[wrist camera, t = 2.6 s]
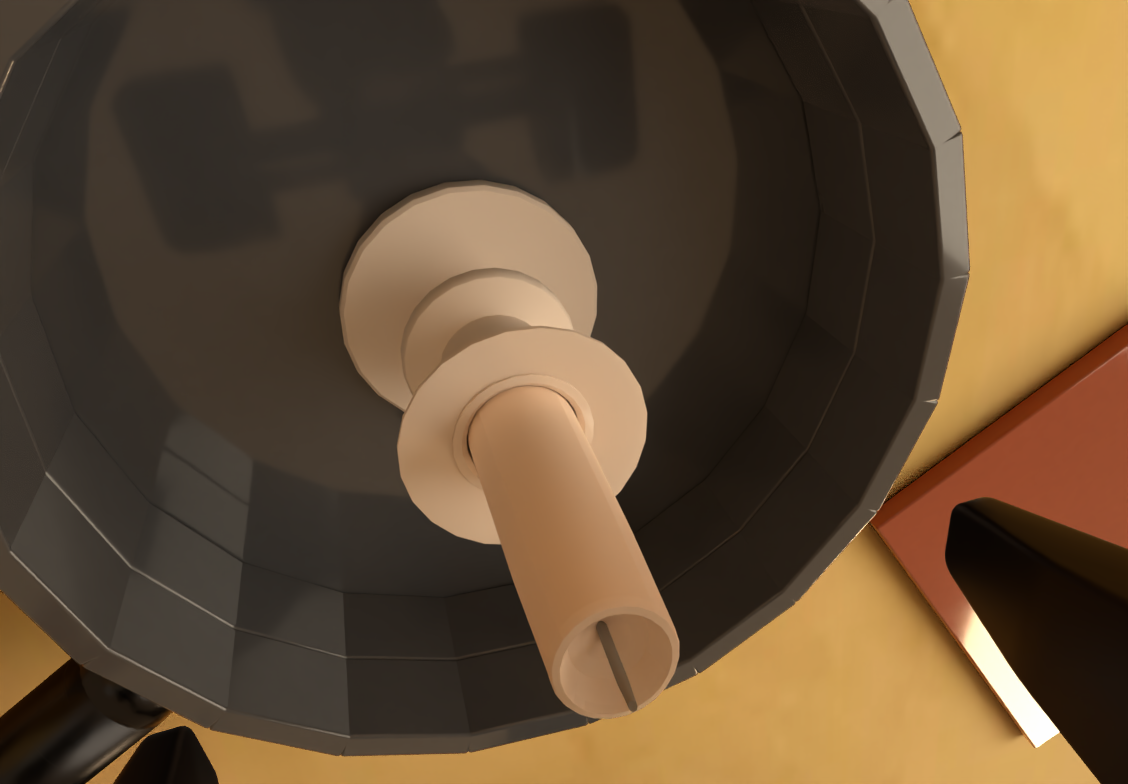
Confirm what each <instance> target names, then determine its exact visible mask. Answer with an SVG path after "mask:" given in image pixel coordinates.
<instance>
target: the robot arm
mask: <svg viewBox="0 0 1128 784" xmlns="http://www.w3.org/2000/svg"><path fill="white" fill-rule="evenodd" d="M945 562H946V565H947V568H948V570H949V572H950V574H951V576H952V578H953V579H954V581H955V582H956V584H957V585H958V587H959V589H960V590H961V592H962V593H963V595H964V596H965V598H966V599H967V601H968V602H969V604H970V606H971V607H972V609H973V610H974V612H975V613H976V615H977V616H978V618H979V620H980V621H981V623H982V624H983V626H984V627H985V629H986V630H987V632H988V633H989V635H990V637H991V638H992V640H993V641H994V643H995V644H996V646H997V647H998V649H999V651H1000V652H1001V654H1002V655H1003V657H1004V658H1005V660H1006V661H1007V663H1008V664H1009V666H1010V667H1011V669H1012V670H1013V672H1014V673H1015V675H1016V676H1017V677H1018V679H1019V680H1020V682H1021V683H1022V684H1023V686H1024V687H1025V688H1026V690H1027V691H1028V692H1029V694H1030V695H1031V696H1032V697H1033V699H1034V700H1035V701H1036V703H1037V704H1038V705H1039V706H1040V708H1041V709H1042V710H1043V711H1044V713H1045V714H1046V715H1047V716H1048V718H1049V719H1050V720H1051V721H1052V723H1053V724H1054V725H1055V727H1056V728H1057V729H1058V730H1059V732H1060V733H1061V734H1062V735H1063V737H1064V738H1065V739H1066V740H1067V742H1068V743H1069V744H1070V745H1071V747H1072V748H1073V749H1074V750H1075V752H1076V753H1077V754H1078V756H1079V757H1080V758H1081V759H1082V761H1083V762H1084V763H1085V764H1086V766H1087V767H1088V768H1089V769H1090V771H1091V772H1092V773H1093V774H1094V776H1095V777H1096V778H1097V779H1098V781H1099V782H1100V783H1101V784H1128V549H1127V548H1124V547H1122V546H1119V545H1116V544H1114V543H1111V542H1108V541H1106V540H1103V539H1100V538H1098V537H1095V536H1092V535H1090V534H1087V533H1085V532H1082V531H1079V530H1077V529H1074V528H1071V527H1069V526H1066V525H1063V524H1061V523H1058V522H1055V521H1053V520H1050V519H1047V518H1045V517H1042V516H1040V515H1037V514H1034V513H1032V512H1029V511H1026V510H1024V509H1021V508H1018V507H1016V506H1013V505H1010V504H1008V503H1005V502H1003V501H1000V500H997V499H994V498H991V497H980V498H976V499H973V500H969V501H966V502H963V503H959V504H957V505H956V506H955V507H954V509H953V510H952V512H951V517H950V523H949V529H948V535H947V541H946V548H945ZM113 784H219V783H218V778H217V775H216V772H215V770H214V768H213V766H212V765H211V763H210V761H209V759H208V757H207V756H206V754H205V752H204V750H203V748H202V747H201V745H200V743H199V741H198V739H197V737H196V736H195V734H194V732H193V731H192V730H191V729H190V728H189V727H186V726H180V727H176V728H173V729H169V730H166V731H162V732H159V733H155V734H152V735H150V736H148V737H147V738H145V739H144V740H143V741H142V742H141V744H140V745H139V746H138V748H137V749H136V751H135V752H134V754H133V755H132V757H131V758H130V760H129V761H128V763H127V764H126V765H125V767H124V768H123V770H122V771H121V773H120V774H119V776H118V777H117V779H116V780H115V782H114V783H113Z"/></svg>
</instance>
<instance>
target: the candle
mask: <svg viewBox="0 0 1128 784" xmlns="http://www.w3.org/2000/svg"><path fill="white" fill-rule="evenodd" d="M339 311H340V318H341V325H342V332H343V338H344V344H345V346H346V348H347V350H348V353H349V355H350V357H351V359H352V361H353V363H354V365H355V367H356V370H357V372H358V373H359V374H360V375H361V376H362V377H363V379H364V380H365V381H366V382H367V383H368V384H369V385H370V386H371V388H372V389H373V390H374V391H375V392H376V393H377V394H378V395H379V396H380V397H382V398H383V399H385V400H386V401H388V402H390V403H391V404H393V405H394V406H396V407H397V408H399V409H400V410H402V411H403V412H404V414H403V416H402V421H401V426H400V432H399V437H398V442H397V452H398V460H399V468H400V475H401V478H402V480H403V483H404V485H405V487H406V489H407V491H408V493H409V495H410V497H411V499H412V501H413V503H414V504H415V505H416V506H417V507H418V508H419V509H420V510H421V511H422V512H423V513H424V514H425V515H426V516H427V517H428V518H429V519H430V521H431V522H433V523H435V524H436V525H438V526H440V527H442V528H443V529H445V530H447V531H448V532H450V533H452V534H454V535H455V536H458V537H462V538H465V539H469V540H473V541H476V542H480V543H484V544H501V545H502V548H503V552H504V555H505V558H506V561H507V564H508V567H509V570H510V573H511V576H512V579H513V582H514V584H515V587H516V590H517V592H518V595H519V598H520V601H521V603H522V606H523V609H524V611H525V614H526V617H527V619H528V622H529V625H530V627H531V630H532V633H533V635H534V638H535V641H536V643H537V646H538V649H539V651H540V654H541V657H542V659H543V662H544V665H545V667H546V670H547V673H548V676H549V680H550V682H551V685H552V687H553V690H554V692H555V695H556V696H557V697H558V698H559V699H560V700H561V701H562V703H563V704H564V705H565V706H567V707H568V708H570V709H571V710H573V711H575V712H576V713H578V714H580V715H584V716H587V717H591V718H599V719H611V718H616V717H621V716H626V715H628V714H631V713H633V712H635V711H637V710H640V709H642V708H643V707H645V706H646V705H647V704H649V703H650V702H652V701H653V700H654V699H656V698H657V697H658V695H659V694H660V693H661V692H662V691H663V690H664V689H665V688H666V687H667V685H668V683H669V682H670V680H671V678H672V677H673V675H674V673H675V670H676V666H677V663H678V660H679V639H678V636H677V633H676V629H675V627H674V625H673V622H672V620H671V618H670V615H669V613H668V611H667V609H666V606H665V604H664V602H663V600H662V597H661V595H660V593H659V591H658V588H657V586H656V584H655V582H654V579H653V577H652V575H651V573H650V570H649V568H648V566H647V564H646V561H645V559H644V557H643V555H642V552H641V550H640V548H639V546H638V543H637V541H636V539H635V537H634V534H633V532H632V530H631V528H630V526H629V524H628V522H627V520H626V518H625V516H624V514H623V512H622V510H621V507H620V505H619V503H618V501H617V499H616V497H615V496H616V495H617V494H618V493H619V492H620V491H621V490H622V488H623V487H624V485H625V484H626V482H627V481H628V479H629V478H630V476H631V475H632V473H633V471H634V470H635V468H636V467H637V464H638V461H639V458H640V455H641V452H642V450H643V447H644V444H645V441H646V427H647V410H646V406H645V402H644V398H643V394H642V390H641V386H640V385H639V383H638V382H637V380H636V378H635V377H634V375H633V374H632V372H631V370H630V369H629V367H628V366H627V364H626V363H625V361H624V360H623V359H622V358H620V357H619V356H618V355H617V354H616V353H614V352H613V351H612V350H611V349H610V348H608V347H607V346H606V345H605V344H604V343H602V342H600V341H598V340H596V339H593V338H591V337H590V336H591V333H592V329H593V326H594V322H595V319H596V316H597V282H596V279H595V275H594V271H593V267H592V263H591V259H590V256H589V254H588V252H587V251H586V249H585V247H584V246H583V244H582V242H581V241H580V239H579V237H578V236H577V234H576V232H575V231H574V229H573V228H572V227H571V225H570V224H569V223H568V222H567V221H566V220H565V219H564V218H563V217H561V216H560V215H559V214H558V213H557V212H556V211H555V210H554V209H553V208H552V207H551V206H549V205H548V204H547V203H546V202H545V201H543V200H541V199H539V198H537V197H535V196H533V195H531V194H529V193H527V192H525V191H523V190H521V189H519V188H517V187H515V186H511V185H506V184H500V183H495V182H490V181H485V180H470V181H456V182H444V183H442V184H439V185H436V186H433V187H430V188H427V189H424V190H421V191H418V192H416V193H413V194H410V195H409V196H407V197H406V198H404V199H403V200H401V201H400V202H398V203H397V204H395V205H394V206H392V207H391V208H390V209H388V210H387V211H385V212H384V213H382V214H381V215H380V216H379V217H378V218H377V219H376V221H375V222H374V223H373V224H372V225H371V226H370V228H369V229H368V230H367V231H366V232H365V233H364V235H363V236H362V237H361V238H360V239H359V240H358V242H357V244H356V246H355V249H354V251H353V253H352V255H351V257H350V259H349V262H348V264H347V266H346V268H345V270H344V274H343V280H342V287H341V294H340V301H339Z"/></svg>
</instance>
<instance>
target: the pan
mask: <svg viewBox="0 0 1128 784" xmlns="http://www.w3.org/2000/svg"><path fill="white" fill-rule="evenodd" d="M470 180H485V181H490V182H495V183H500V184H506V185H511V186H515V187H517V188H519V189H521V190H523V191H525V192H527V193H529V194H531V195H533V196H535V197H537V198H539V199H541V200H543V201H545V202H546V203H547V204H548V205H549V206H551V207H552V208H553V209H554V210H555V211H556V212H557V213H558V214H559V215H560V216H561V217H563V218H564V219H565V220H566V221H567V222H568V223H569V224H570V225H571V227H572V228H573V229H574V231H575V232H576V234H577V236H578V237H579V239H580V241H581V242H582V244H583V246H584V247H585V249H586V251H587V252H588V254H589V256H590V259H591V263H592V267H593V271H594V275H595V279H596V282H597V316H596V319H595V322H594V326H593V329H592V333H591V336H590V337H591V338H593V339H596V340H598V341H600V342H602V343H604V344H605V345H606V346H607V347H608V348H610V349H611V350H612V351H613V352H614V353H616V354H617V355H618V356H619V357H620V358H622V359H623V360H624V361H625V363H626V364H627V366H628V367H629V369H630V370H631V372H632V374H633V375H634V377H635V378H636V380H637V382H638V383H639V385H640V386H641V390H642V394H643V398H644V402H645V406H646V410H647V427H646V441H645V444H644V447H643V450H642V452H641V455H640V458H639V461H638V464H637V467H636V468H635V470H634V471H633V473H632V475H631V476H630V478H629V479H628V481H627V482H626V484H625V485H624V487H623V488H622V490H621V491H620V492H619V493H618V494H617V495H616V496H615V497H616V499H617V501H618V503H619V505H620V507H621V510H622V512H623V514H624V516H625V518H626V520H627V522H628V524H629V526H630V528H631V530H632V532H633V534H634V537H635V539H636V541H637V543H638V546H639V548H640V550H641V552H642V555H643V557H644V559H645V561H646V564H647V566H648V568H649V570H650V573H651V575H652V577H653V579H654V582H655V584H656V586H657V588H658V591H659V593H660V595H661V597H662V600H663V602H664V604H665V606H666V609H667V611H668V613H669V615H670V618H671V620H672V622H673V625H674V627H675V629H676V633H677V636H678V639H679V660H678V663H677V666H676V670H675V673H674V675H673V677H672V678H671V680H670V682H669V683H668V685H667V687H666V688H665V689H668V688H670V687H672V686H674V685H676V684H678V683H681V682H683V681H685V680H687V679H689V678H691V677H694V676H696V675H697V674H698V673H701V672H703V671H704V670H706V669H707V668H708V667H710V666H711V665H712V664H714V663H715V662H717V661H718V660H719V659H721V658H722V657H723V656H725V655H726V654H727V653H729V652H730V651H732V650H733V649H734V648H736V647H737V646H738V645H740V644H741V643H742V642H744V641H745V640H747V639H748V638H749V637H751V636H752V635H753V634H755V633H756V632H758V631H759V630H760V629H762V628H763V627H764V626H766V625H767V624H768V623H770V622H771V621H773V620H774V619H775V618H777V617H778V616H779V615H781V614H782V613H784V612H785V611H786V610H788V609H789V608H790V607H792V606H793V605H794V604H795V601H796V602H797V601H799V600H800V599H801V597H802V596H803V595H804V594H805V593H806V592H807V591H808V590H809V588H810V587H811V586H812V585H813V584H814V583H815V582H816V581H817V579H818V578H819V577H820V576H821V575H822V574H823V573H824V572H825V571H826V569H827V568H828V567H829V566H830V565H831V564H832V563H833V562H834V560H835V559H836V558H837V557H838V556H839V555H840V554H841V553H842V552H843V550H844V549H845V548H846V547H847V546H848V545H849V544H850V543H851V541H852V540H853V539H854V538H855V537H856V536H857V535H858V534H859V533H860V531H861V530H862V529H863V528H864V527H865V526H866V525H867V524H868V522H869V521H870V520H871V519H872V518H873V517H874V516H875V515H876V513H877V511H878V510H879V509H880V508H881V506H882V504H883V502H884V500H885V499H886V497H887V495H888V493H889V491H890V489H891V488H892V486H893V484H894V482H895V480H896V478H897V477H898V475H899V473H900V471H901V469H902V467H903V466H904V464H905V462H906V460H907V458H908V456H909V455H910V453H911V451H912V449H913V447H914V446H915V444H916V442H917V440H918V438H919V436H920V435H921V433H922V431H923V429H924V427H925V425H926V424H927V422H928V420H929V418H930V416H931V414H932V413H933V411H934V409H935V407H936V405H937V403H938V402H937V400H938V399H939V397H940V393H941V389H942V385H943V381H944V377H945V373H946V369H947V365H948V361H949V357H950V353H951V349H952V345H953V341H954V337H955V333H956V328H957V324H958V320H959V316H960V312H961V308H962V304H963V300H964V296H965V292H966V288H967V284H968V280H969V273H968V272H969V271H970V260H969V242H968V223H967V205H966V187H965V168H964V150H963V135H962V132H961V126H960V124H959V121H958V119H957V116H956V114H955V112H954V109H953V107H952V104H951V102H950V99H949V97H948V95H947V92H946V90H945V87H944V85H943V83H942V80H941V78H940V75H939V73H938V71H937V68H936V66H935V63H934V61H933V58H932V56H931V54H930V51H929V49H928V46H927V44H926V42H925V39H924V37H923V34H922V32H921V30H920V27H919V25H918V22H917V20H916V17H915V15H914V13H913V10H912V8H911V5H910V3H909V1H908V0H0V590H1V591H2V592H3V593H4V594H5V595H6V596H7V597H8V598H9V599H10V600H11V601H12V602H13V603H14V604H15V605H16V606H17V607H18V608H20V609H21V610H22V611H23V612H24V613H25V614H26V615H27V616H28V617H29V618H30V619H31V620H32V621H33V622H34V623H35V624H36V625H37V626H39V627H40V628H41V629H42V630H43V631H44V632H45V633H46V634H47V635H48V636H49V637H50V638H51V639H52V640H53V641H54V642H55V643H56V644H57V645H59V646H60V647H61V648H62V649H63V650H64V651H65V652H66V653H67V654H68V655H69V656H70V657H71V658H72V659H73V660H74V661H75V662H76V663H78V664H80V665H83V667H84V668H85V669H87V670H89V671H91V672H93V673H95V674H97V675H99V676H101V677H103V678H105V679H107V680H109V681H111V682H113V683H115V684H117V685H119V686H121V687H123V688H125V689H127V690H129V691H131V692H133V693H135V694H137V695H139V696H142V697H144V698H146V699H148V700H150V701H152V702H154V703H156V704H158V705H160V706H162V707H164V708H166V709H168V710H170V711H172V712H174V713H176V714H178V715H180V716H182V717H184V718H186V719H188V720H190V721H192V722H194V723H196V724H198V725H200V726H202V727H204V728H210V730H212V731H217V732H222V733H227V734H232V735H237V736H242V737H246V738H251V739H256V740H261V741H266V742H271V743H276V744H281V745H286V746H290V747H295V748H300V749H305V750H310V751H315V752H320V753H325V754H330V755H335V756H339V755H342V756H378V755H419V754H460V753H467V752H468V751H469V752H476V751H480V750H484V749H488V748H493V747H497V746H501V745H505V744H510V743H514V742H518V741H522V740H527V739H531V738H535V737H539V736H543V735H548V734H552V733H556V732H560V731H565V730H569V729H573V728H577V727H582V726H586V725H587V724H588V723H589V724H591V723H594V722H596V721H598V720H600V719H599V718H591V717H587V716H584V715H580V714H578V713H576V712H575V711H573V710H571V709H570V708H568V707H567V706H565V705H564V704H563V703H562V701H561V700H560V699H559V698H558V697H557V696H556V695H555V692H554V690H553V687H552V685H551V682H550V680H549V676H548V673H547V670H546V667H545V665H544V662H543V659H542V657H541V654H540V651H539V649H538V646H537V643H536V641H535V638H534V635H533V633H532V630H531V627H530V625H529V622H528V619H527V617H526V614H525V611H524V609H523V606H522V603H521V601H520V598H519V595H518V592H517V590H516V587H515V584H514V582H513V579H512V576H511V573H510V570H509V567H508V564H507V561H506V558H505V555H504V552H503V548H502V545H501V544H484V543H480V542H476V541H473V540H469V539H465V538H462V537H458V536H455V535H454V534H452V533H450V532H448V531H447V530H445V529H443V528H442V527H440V526H438V525H436V524H435V523H433V522H431V521H430V519H429V518H428V517H427V516H426V515H425V514H424V513H423V512H422V511H421V510H420V509H419V508H418V507H417V506H416V505H415V504H414V503H413V501H412V499H411V497H410V495H409V493H408V491H407V489H406V487H405V485H404V483H403V480H402V478H401V475H400V468H399V460H398V452H397V442H398V437H399V432H400V426H401V421H402V416H403V414H404V412H403V411H402V410H400V409H399V408H397V407H396V406H394V405H393V404H391V403H390V402H388V401H386V400H385V399H383V398H382V397H380V396H379V395H378V394H377V393H376V392H375V391H374V390H373V389H372V388H371V386H370V385H369V384H368V383H367V382H366V381H365V380H364V379H363V377H362V376H361V375H360V374H359V373H358V372H357V370H356V367H355V365H354V363H353V361H352V359H351V357H350V355H349V353H348V350H347V348H346V346H345V344H344V338H343V332H342V325H341V318H340V311H339V301H340V294H341V287H342V280H343V274H344V270H345V268H346V266H347V264H348V262H349V259H350V257H351V255H352V253H353V251H354V249H355V246H356V244H357V242H358V240H359V239H360V238H361V237H362V236H363V235H364V233H365V232H366V231H367V230H368V229H369V228H370V226H371V225H372V224H373V223H374V222H375V221H376V219H377V218H378V217H379V216H380V215H381V214H382V213H384V212H385V211H387V210H388V209H390V208H391V207H392V206H394V205H395V204H397V203H398V202H400V201H401V200H403V199H404V198H406V197H407V196H409V195H410V194H413V193H416V192H418V191H421V190H424V189H427V188H430V187H433V186H436V185H439V184H442V183H444V182H456V181H470ZM665 689H664V690H665Z"/></svg>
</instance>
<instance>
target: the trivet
mask: <svg viewBox="0 0 1128 784" xmlns="http://www.w3.org/2000/svg"><path fill="white" fill-rule="evenodd" d="M980 497H991V498H994V499H997V500H1000V501H1003V502H1005V503H1008V504H1010V505H1013V506H1016V507H1018V508H1021V509H1024V510H1026V511H1029V512H1032V513H1034V514H1037V515H1040V516H1042V517H1045V518H1047V519H1050V520H1053V521H1055V522H1058V523H1061V524H1063V525H1066V526H1069V527H1071V528H1074V529H1077V530H1079V531H1082V532H1085V533H1087V534H1090V535H1092V536H1095V537H1098V538H1100V539H1103V540H1106V541H1108V542H1111V543H1114V544H1116V545H1119V546H1122V547H1124V548H1127V549H1128V324H1127V325H1125V326H1124V327H1123V328H1121V329H1120V330H1119V331H1117V332H1116V333H1115V334H1113V335H1112V336H1110V337H1109V338H1108V339H1106V340H1105V341H1104V342H1102V343H1101V344H1100V345H1098V346H1097V347H1096V348H1094V349H1093V350H1091V351H1090V352H1089V353H1087V354H1086V355H1085V356H1083V357H1082V358H1081V359H1079V360H1078V361H1077V362H1075V363H1074V364H1072V365H1071V366H1070V367H1068V368H1067V369H1066V370H1064V371H1063V372H1062V373H1060V374H1059V375H1058V376H1056V377H1055V378H1054V379H1052V380H1051V381H1049V382H1048V383H1047V384H1045V385H1044V386H1043V387H1041V388H1040V389H1039V390H1037V391H1036V392H1035V393H1033V394H1032V395H1030V396H1029V397H1028V398H1026V399H1025V400H1024V401H1022V402H1021V403H1020V404H1018V405H1017V406H1016V407H1014V408H1013V409H1012V410H1010V411H1009V412H1007V413H1006V414H1005V415H1003V416H1002V417H1001V418H999V419H998V420H997V421H995V422H994V423H993V424H991V425H990V426H988V427H987V428H986V429H984V430H983V431H982V432H980V433H979V434H978V435H976V436H975V437H974V438H972V439H971V440H970V441H968V442H967V443H965V444H964V445H963V446H961V447H960V448H959V449H957V450H956V451H955V452H953V453H952V454H951V455H949V456H948V457H946V458H945V459H944V460H942V461H941V462H940V463H938V464H937V465H936V466H934V467H933V468H932V469H930V470H929V471H927V472H926V473H925V474H923V475H922V476H921V477H919V478H918V479H917V480H915V481H914V482H913V483H911V484H910V485H909V486H907V487H906V488H904V489H903V490H902V491H900V492H899V493H898V494H896V495H895V496H894V497H892V498H891V499H890V500H888V501H887V502H885V503H884V504H883V505H882V506H881V508H880V509H879V510H878V511H877V513H876V515H875V516H874V517H873V518H872V519H871V520H870V521H869V522H870V524H871V525H872V526H873V528H874V529H875V530H876V532H877V533H878V535H879V536H880V537H881V539H882V540H883V542H884V543H885V544H886V546H887V547H888V548H889V550H890V551H891V553H892V554H893V555H894V557H895V558H896V560H897V561H898V562H899V564H900V565H901V566H902V568H903V569H904V571H905V572H906V573H907V575H908V576H909V578H910V579H911V580H912V582H913V583H914V584H915V586H916V587H917V589H918V590H919V591H920V593H921V594H922V595H923V597H924V598H925V600H926V601H927V602H928V604H929V605H930V607H931V608H932V609H933V611H934V612H935V613H936V615H937V616H938V618H939V619H940V620H941V622H942V623H943V625H944V626H945V627H946V629H947V630H948V631H949V633H950V634H951V636H952V637H953V638H954V640H955V641H956V643H957V644H958V645H959V647H960V648H961V649H962V651H963V652H964V654H965V655H966V656H967V658H968V659H969V661H970V662H971V663H972V665H973V666H974V667H975V669H976V670H977V672H978V673H979V674H980V676H981V677H982V679H983V680H984V681H985V683H986V684H987V685H988V687H989V688H990V690H991V691H992V692H993V694H994V695H995V697H996V698H997V699H998V701H999V702H1000V703H1001V705H1002V706H1003V708H1004V709H1005V710H1006V712H1007V713H1008V715H1009V716H1010V717H1011V719H1012V720H1013V721H1014V723H1015V724H1016V726H1017V727H1018V728H1019V730H1020V731H1021V733H1022V734H1023V735H1024V737H1025V738H1026V739H1027V740H1028V741H1029V743H1030V744H1031V745H1032V746H1033V747H1034V748H1037V747H1038V746H1040V745H1041V744H1043V743H1044V742H1046V741H1047V740H1049V739H1050V738H1052V737H1053V736H1055V735H1056V734H1058V733H1059V730H1058V729H1057V728H1056V727H1055V725H1054V724H1053V723H1052V721H1051V720H1050V719H1049V718H1048V716H1047V715H1046V714H1045V713H1044V711H1043V710H1042V709H1041V708H1040V706H1039V705H1038V704H1037V703H1036V701H1035V700H1034V699H1033V697H1032V696H1031V695H1030V694H1029V692H1028V691H1027V690H1026V688H1025V687H1024V686H1023V684H1022V683H1021V682H1020V680H1019V679H1018V677H1017V676H1016V675H1015V673H1014V672H1013V670H1012V669H1011V667H1010V666H1009V664H1008V663H1007V661H1006V660H1005V658H1004V657H1003V655H1002V654H1001V652H1000V651H999V649H998V647H997V646H996V644H995V643H994V641H993V640H992V638H991V637H990V635H989V633H988V632H987V630H986V629H985V627H984V626H983V624H982V623H981V621H980V620H979V618H978V616H977V615H976V613H975V612H974V610H973V609H972V607H971V606H970V604H969V602H968V601H967V599H966V598H965V596H964V595H963V593H962V592H961V590H960V589H959V587H958V585H957V584H956V582H955V581H954V579H953V578H952V576H951V574H950V572H949V570H948V568H947V565H946V562H945V548H946V541H947V535H948V529H949V523H950V517H951V512H952V510H953V509H954V507H955V506H956V505H957V504H959V503H963V502H966V501H969V500H973V499H976V498H980Z"/></svg>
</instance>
